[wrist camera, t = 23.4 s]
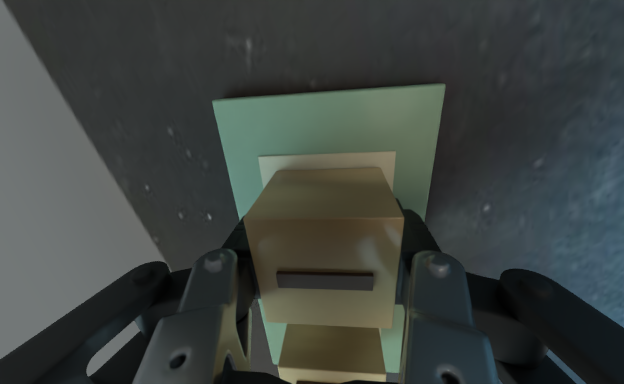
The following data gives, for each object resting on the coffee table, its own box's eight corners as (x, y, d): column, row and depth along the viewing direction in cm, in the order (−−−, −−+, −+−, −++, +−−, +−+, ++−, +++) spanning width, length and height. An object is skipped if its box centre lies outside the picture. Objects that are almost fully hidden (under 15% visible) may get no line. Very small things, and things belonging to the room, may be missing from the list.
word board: (275, 353, 18) (272, 366, 17) (219, 98, 10) (209, 100, 9) (398, 361, 17) (401, 375, 16) (438, 83, 9) (448, 83, 8)
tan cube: (287, 251, 12) (265, 326, 9) (275, 170, 10) (240, 221, 7) (376, 252, 12) (393, 333, 8) (381, 167, 10) (406, 220, 6)
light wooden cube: (300, 341, 15) (288, 424, 12) (293, 291, 14) (276, 371, 10) (370, 345, 15) (381, 433, 11) (373, 293, 13) (387, 379, 9)
